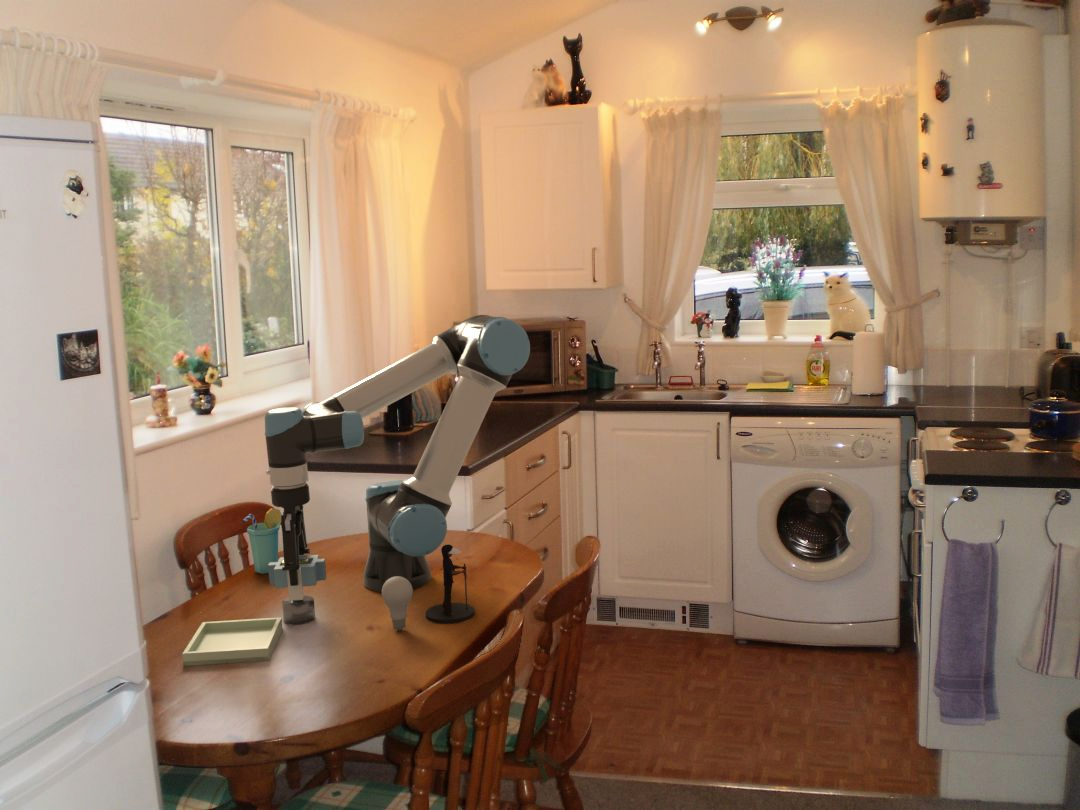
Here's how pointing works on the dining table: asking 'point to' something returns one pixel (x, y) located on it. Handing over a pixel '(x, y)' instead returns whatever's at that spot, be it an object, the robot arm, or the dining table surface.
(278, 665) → the dining table surface
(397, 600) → the lightbulb
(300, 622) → the grey stamp
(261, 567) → the cup
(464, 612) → the figurine
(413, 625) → the dining table surface
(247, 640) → the tray
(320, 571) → the slotted blue block
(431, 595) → the dining table surface
